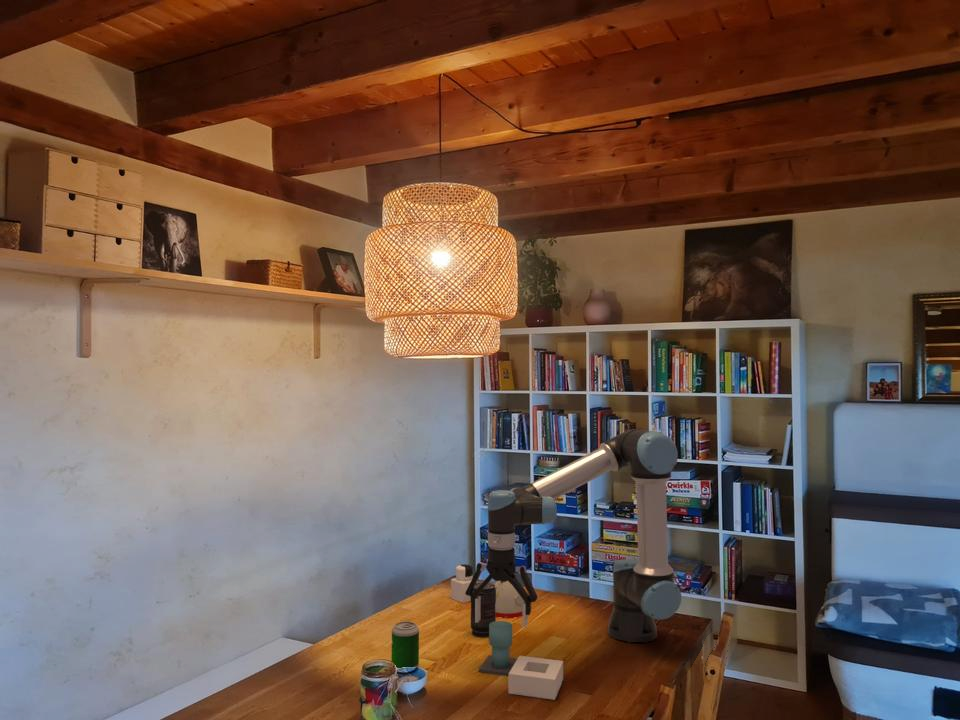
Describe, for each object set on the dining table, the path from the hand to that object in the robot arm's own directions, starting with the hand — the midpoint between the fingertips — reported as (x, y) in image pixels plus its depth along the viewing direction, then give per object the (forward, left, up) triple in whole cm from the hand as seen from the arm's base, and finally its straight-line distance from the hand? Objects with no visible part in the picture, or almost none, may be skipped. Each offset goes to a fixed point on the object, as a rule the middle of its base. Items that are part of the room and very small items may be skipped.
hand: (501, 623), depth 196 cm
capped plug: (0, 0, -11) cm, 11 cm away
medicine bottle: (+28, -53, -12) cm, 61 cm away
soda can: (+25, +9, -12) cm, 29 cm away
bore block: (-12, +9, -12) cm, 19 cm away
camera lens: (+12, -23, -12) cm, 29 cm away
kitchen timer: (+10, -45, -12) cm, 48 cm away
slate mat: (0, 0, -12) cm, 12 cm away
